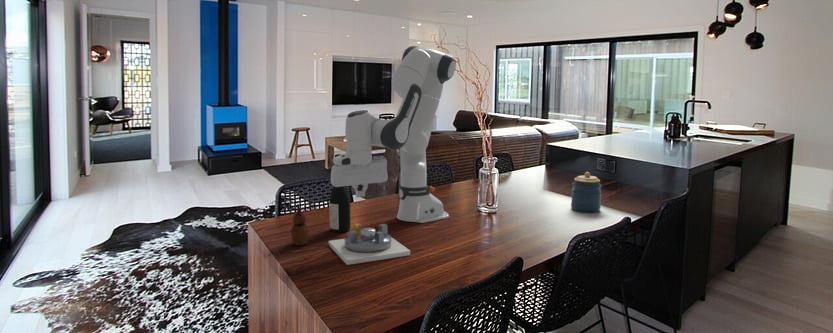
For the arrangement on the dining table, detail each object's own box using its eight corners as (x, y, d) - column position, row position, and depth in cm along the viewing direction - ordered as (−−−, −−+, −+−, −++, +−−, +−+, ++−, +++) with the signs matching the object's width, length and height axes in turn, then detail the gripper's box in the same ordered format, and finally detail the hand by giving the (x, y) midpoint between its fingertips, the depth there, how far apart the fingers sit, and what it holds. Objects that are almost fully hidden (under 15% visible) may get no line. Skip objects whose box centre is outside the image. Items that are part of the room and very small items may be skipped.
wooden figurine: (293, 241, 180) (292, 201, 178) (309, 241, 181) (308, 201, 178) (290, 247, 173) (288, 205, 171) (307, 247, 174) (305, 205, 172)
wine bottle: (333, 234, 189) (331, 156, 184) (327, 229, 196) (325, 154, 191) (353, 231, 193) (352, 155, 188) (346, 226, 200) (345, 152, 195)
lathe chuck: (349, 237, 179) (349, 221, 178) (393, 238, 178) (393, 222, 177) (340, 252, 163) (339, 234, 162) (388, 253, 162) (388, 235, 161)
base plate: (386, 237, 186) (386, 233, 185) (410, 255, 166) (410, 250, 166) (328, 244, 176) (328, 240, 176) (347, 264, 157) (346, 260, 156)
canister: (569, 211, 224) (571, 173, 222) (571, 205, 236) (573, 168, 233) (599, 214, 220) (602, 175, 217) (600, 207, 231) (603, 170, 229)
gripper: (383, 154, 179) (384, 191, 182) (328, 158, 170) (330, 198, 173) (390, 156, 174) (391, 195, 176) (333, 161, 165) (335, 201, 167)
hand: (360, 196), depth 174 cm, fingers closed
